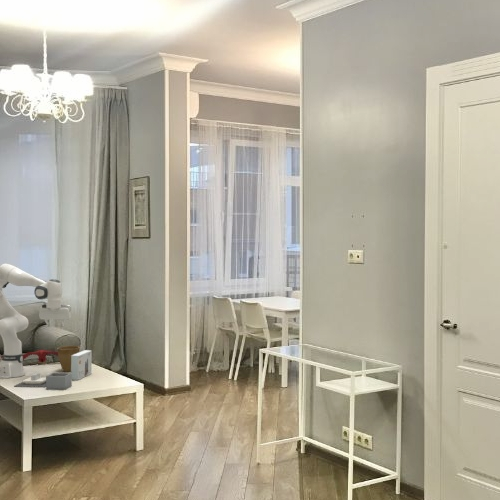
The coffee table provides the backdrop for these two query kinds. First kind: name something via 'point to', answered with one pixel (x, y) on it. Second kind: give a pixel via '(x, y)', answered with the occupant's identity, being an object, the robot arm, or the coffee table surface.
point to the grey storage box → (58, 381)
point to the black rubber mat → (30, 385)
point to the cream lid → (35, 379)
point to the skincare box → (81, 364)
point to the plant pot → (67, 356)
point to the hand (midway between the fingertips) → (55, 326)
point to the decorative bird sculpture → (40, 355)
